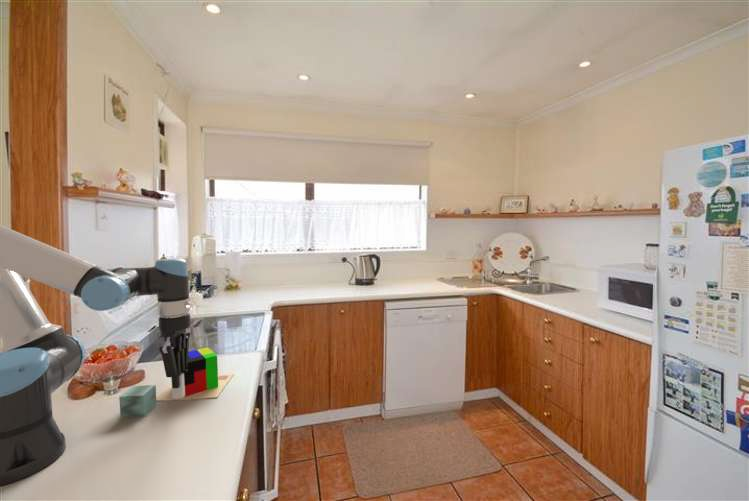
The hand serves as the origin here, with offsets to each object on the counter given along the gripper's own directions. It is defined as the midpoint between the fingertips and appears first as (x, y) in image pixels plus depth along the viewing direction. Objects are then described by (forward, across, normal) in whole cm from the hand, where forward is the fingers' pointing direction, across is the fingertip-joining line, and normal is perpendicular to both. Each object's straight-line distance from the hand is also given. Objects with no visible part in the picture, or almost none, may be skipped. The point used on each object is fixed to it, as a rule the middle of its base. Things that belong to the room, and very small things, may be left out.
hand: (178, 396), depth 95 cm
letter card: (+3, +12, 0) cm, 12 cm away
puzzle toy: (+3, +12, 0) cm, 12 cm away
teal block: (+3, -1, +10) cm, 11 cm away
